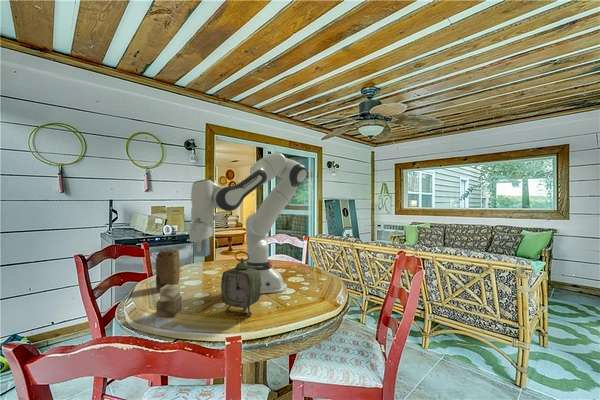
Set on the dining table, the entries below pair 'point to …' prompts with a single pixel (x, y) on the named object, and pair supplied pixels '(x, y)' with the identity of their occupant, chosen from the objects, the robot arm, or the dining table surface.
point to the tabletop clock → (241, 286)
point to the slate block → (205, 248)
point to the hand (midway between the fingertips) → (202, 249)
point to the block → (167, 267)
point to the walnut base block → (168, 308)
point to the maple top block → (169, 293)
